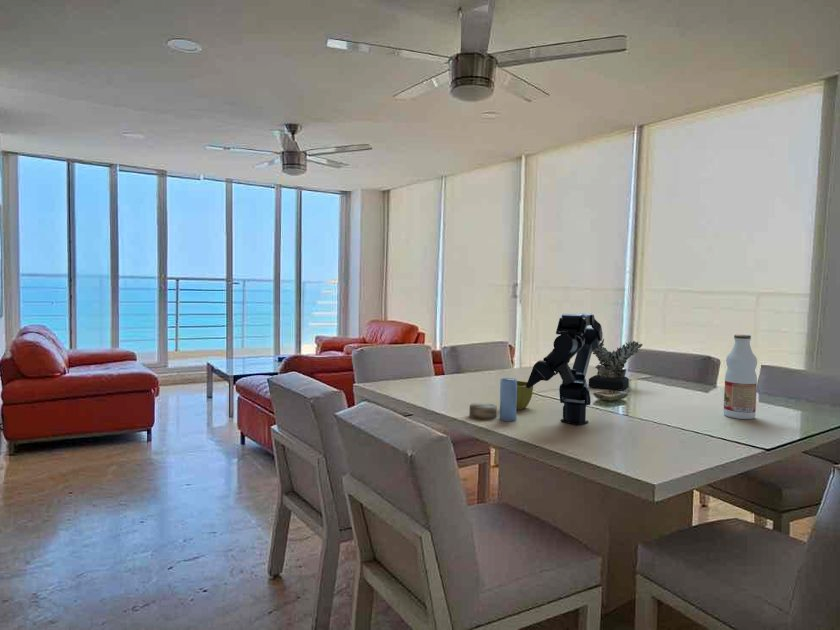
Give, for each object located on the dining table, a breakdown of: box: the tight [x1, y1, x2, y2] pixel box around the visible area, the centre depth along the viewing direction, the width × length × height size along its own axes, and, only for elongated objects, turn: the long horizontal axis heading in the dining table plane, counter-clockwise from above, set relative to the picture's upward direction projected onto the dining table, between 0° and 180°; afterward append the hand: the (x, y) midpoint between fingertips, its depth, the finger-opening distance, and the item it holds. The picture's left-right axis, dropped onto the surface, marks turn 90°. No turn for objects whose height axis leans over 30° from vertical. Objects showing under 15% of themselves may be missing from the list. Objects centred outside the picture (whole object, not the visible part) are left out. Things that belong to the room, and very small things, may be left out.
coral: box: [587, 337, 643, 391], centre depth 237 cm, size 25×18×21 cm
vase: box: [499, 377, 518, 422], centre depth 176 cm, size 5×5×13 cm
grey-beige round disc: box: [469, 402, 498, 421], centre depth 180 cm, size 9×9×4 cm
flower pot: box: [516, 380, 534, 410], centre depth 193 cm, size 9×9×9 cm
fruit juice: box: [723, 334, 758, 420], centre depth 183 cm, size 9×9×28 cm
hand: (530, 385), depth 172 cm, fingers open, 9 cm apart
